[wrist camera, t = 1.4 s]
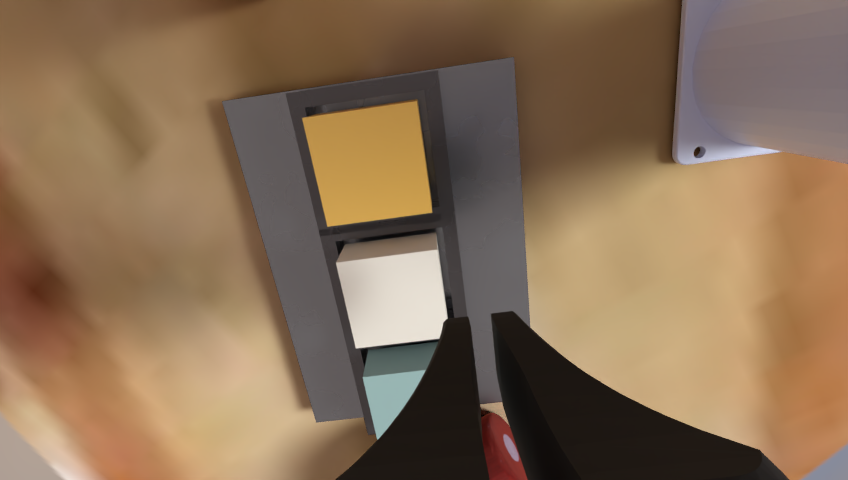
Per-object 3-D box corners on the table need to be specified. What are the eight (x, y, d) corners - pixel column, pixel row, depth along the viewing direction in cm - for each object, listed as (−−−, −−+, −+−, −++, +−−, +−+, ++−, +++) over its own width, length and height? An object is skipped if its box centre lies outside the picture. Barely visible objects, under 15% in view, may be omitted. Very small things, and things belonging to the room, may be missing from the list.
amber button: (417, 99, 16) (416, 101, 14) (431, 198, 18) (432, 212, 16) (316, 114, 16) (302, 118, 14) (337, 211, 18) (327, 226, 16)
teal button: (450, 340, 20) (453, 366, 18) (460, 406, 21) (463, 437, 19) (368, 349, 20) (362, 377, 18) (382, 415, 22) (378, 446, 20)
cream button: (436, 232, 18) (437, 249, 16) (447, 312, 19) (449, 337, 18) (345, 244, 18) (336, 262, 16) (362, 323, 20) (355, 348, 18)
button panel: (508, 58, 18) (521, 54, 15) (529, 383, 24) (541, 417, 21) (234, 100, 18) (205, 102, 16) (321, 406, 24) (309, 442, 22)
